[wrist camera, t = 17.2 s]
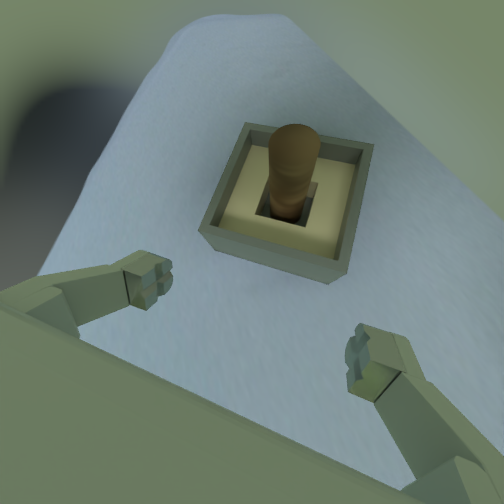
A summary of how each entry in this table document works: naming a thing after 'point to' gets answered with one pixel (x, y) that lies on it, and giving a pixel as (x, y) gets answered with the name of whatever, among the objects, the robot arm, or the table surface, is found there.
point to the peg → (291, 170)
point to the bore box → (313, 215)
